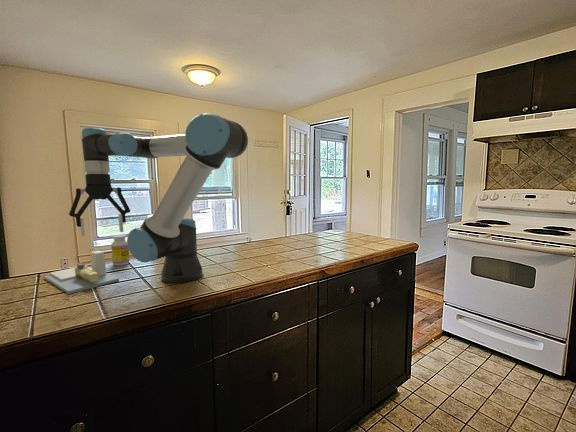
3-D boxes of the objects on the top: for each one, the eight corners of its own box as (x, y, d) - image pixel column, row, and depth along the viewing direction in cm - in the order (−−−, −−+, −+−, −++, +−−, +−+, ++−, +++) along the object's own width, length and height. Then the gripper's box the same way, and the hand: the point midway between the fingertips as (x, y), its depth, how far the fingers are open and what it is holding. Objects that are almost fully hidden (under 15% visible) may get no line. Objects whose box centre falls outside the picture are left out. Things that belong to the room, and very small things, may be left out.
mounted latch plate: (119, 280, 112) (117, 254, 111) (68, 294, 99) (65, 264, 98) (90, 268, 128) (88, 245, 127) (44, 278, 115) (41, 253, 114)
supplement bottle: (122, 266, 131) (120, 237, 129) (109, 265, 132) (106, 237, 130) (133, 262, 137) (131, 234, 136) (120, 261, 139) (118, 234, 137)
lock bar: (73, 275, 112) (73, 268, 112) (85, 272, 116) (85, 265, 115) (88, 282, 104) (87, 275, 104) (101, 279, 107) (100, 272, 107)
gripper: (131, 173, 117) (135, 228, 120) (55, 173, 102) (61, 236, 105) (136, 173, 111) (140, 231, 114) (56, 173, 96) (63, 239, 99)
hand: (102, 233), depth 109 cm, fingers open, 11 cm apart
